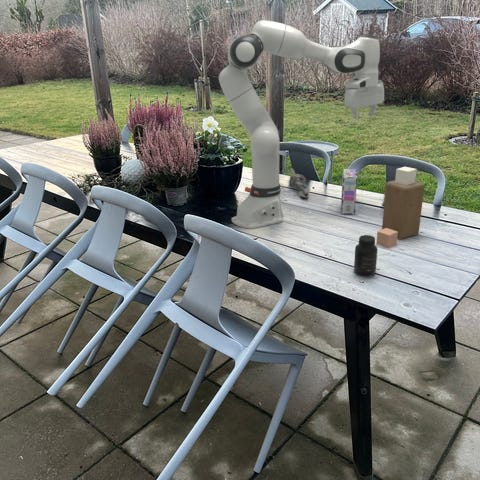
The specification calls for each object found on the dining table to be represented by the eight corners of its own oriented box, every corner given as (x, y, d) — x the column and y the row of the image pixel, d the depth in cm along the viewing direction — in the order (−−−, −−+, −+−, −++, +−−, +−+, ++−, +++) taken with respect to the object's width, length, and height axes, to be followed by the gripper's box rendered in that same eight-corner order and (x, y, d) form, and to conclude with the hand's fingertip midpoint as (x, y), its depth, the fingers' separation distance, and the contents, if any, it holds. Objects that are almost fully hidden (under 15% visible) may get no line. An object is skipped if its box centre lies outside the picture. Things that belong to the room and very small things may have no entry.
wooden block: (399, 240, 172) (405, 188, 164) (380, 231, 180) (384, 181, 172) (419, 234, 176) (426, 183, 168) (399, 226, 184) (405, 177, 176)
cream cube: (406, 185, 167) (408, 171, 165) (395, 182, 170) (396, 169, 169) (415, 182, 169) (416, 169, 167) (403, 179, 173) (404, 166, 171)
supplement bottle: (350, 268, 153) (353, 234, 148) (371, 266, 154) (374, 232, 149) (357, 277, 147) (359, 242, 142) (378, 276, 147) (381, 241, 142)
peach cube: (387, 248, 166) (389, 235, 164) (376, 244, 170) (377, 231, 168) (396, 244, 169) (397, 231, 167) (385, 240, 172) (386, 227, 171)
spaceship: (300, 164, 246) (286, 160, 244) (318, 191, 216) (302, 186, 213) (294, 178, 249) (280, 174, 247) (311, 206, 219) (295, 201, 217)
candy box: (355, 215, 197) (357, 177, 191) (340, 214, 199) (342, 177, 192) (354, 204, 210) (356, 168, 203) (341, 203, 211) (342, 168, 204)
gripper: (376, 78, 190) (374, 113, 196) (342, 83, 179) (340, 120, 185) (389, 79, 186) (386, 115, 191) (355, 84, 175) (353, 121, 180)
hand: (363, 117), depth 188 cm, fingers open, 8 cm apart
